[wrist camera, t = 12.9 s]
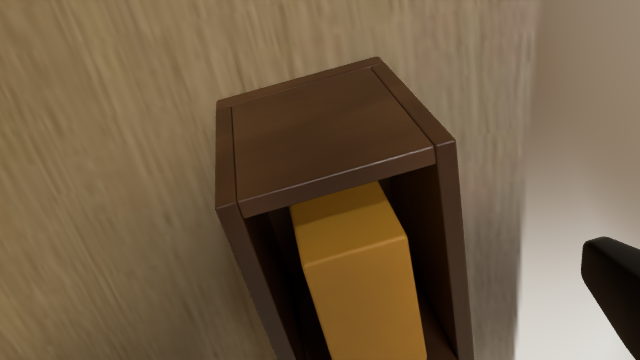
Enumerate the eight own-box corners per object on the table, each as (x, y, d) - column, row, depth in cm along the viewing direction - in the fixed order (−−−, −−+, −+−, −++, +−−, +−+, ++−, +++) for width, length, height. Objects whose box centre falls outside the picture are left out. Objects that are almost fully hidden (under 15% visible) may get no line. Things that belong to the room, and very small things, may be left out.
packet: (347, 123, 13) (407, 235, 9) (370, 228, 15) (428, 361, 11) (274, 143, 13) (301, 266, 9) (306, 246, 15) (341, 387, 11)
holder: (378, 54, 13) (456, 139, 9) (408, 240, 17) (475, 367, 12) (215, 100, 13) (213, 208, 9) (279, 277, 16) (301, 419, 12)
